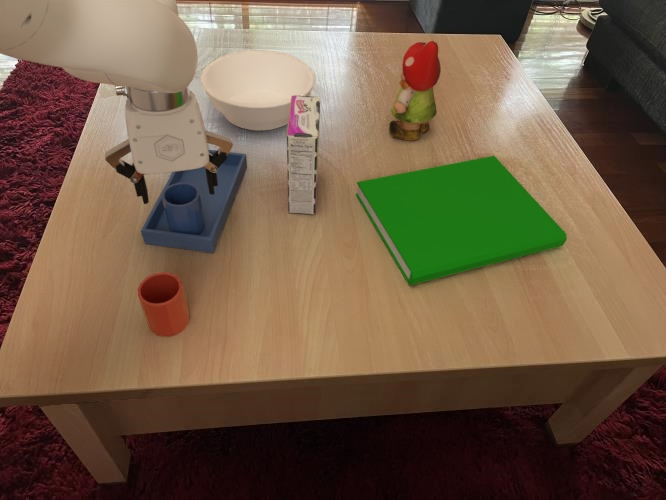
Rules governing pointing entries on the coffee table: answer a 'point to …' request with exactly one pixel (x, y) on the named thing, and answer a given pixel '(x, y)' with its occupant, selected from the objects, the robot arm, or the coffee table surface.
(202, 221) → the blue cup
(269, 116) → the bowl
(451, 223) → the book
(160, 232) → the blue tray
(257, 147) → the coffee table surface
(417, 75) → the figurine
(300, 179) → the candy bar box
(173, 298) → the red cup
